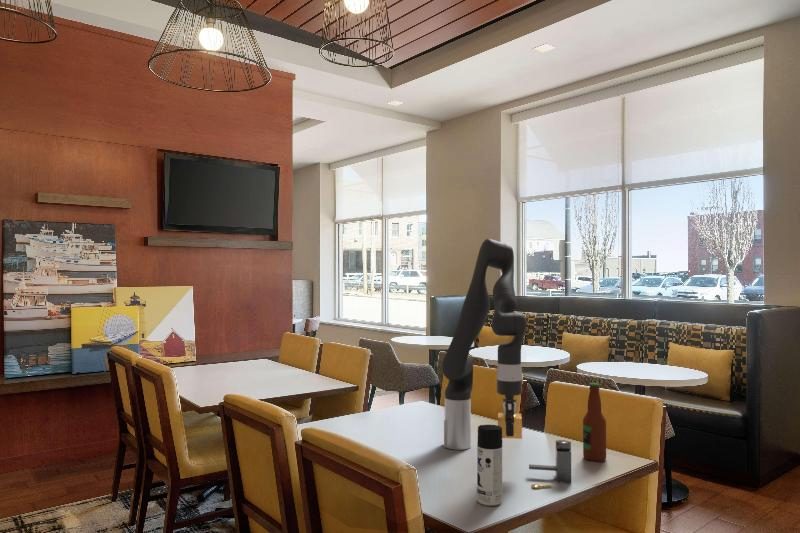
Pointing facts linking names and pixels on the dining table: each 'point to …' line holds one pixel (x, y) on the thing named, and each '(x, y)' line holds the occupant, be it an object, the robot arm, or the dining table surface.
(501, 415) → the wooden block
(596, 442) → the bottle
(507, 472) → the dining table surface
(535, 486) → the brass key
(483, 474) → the spray can
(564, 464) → the grey mallet
